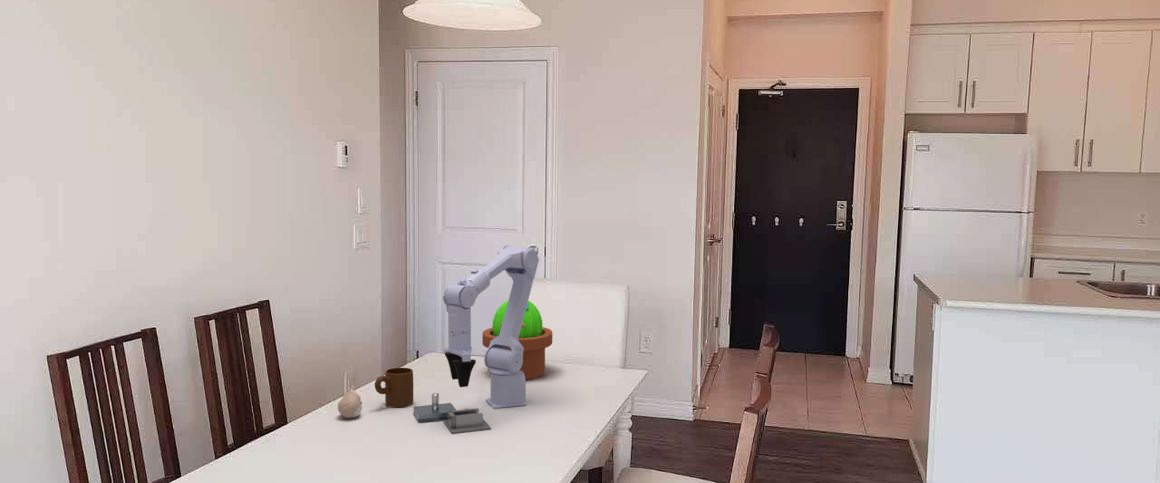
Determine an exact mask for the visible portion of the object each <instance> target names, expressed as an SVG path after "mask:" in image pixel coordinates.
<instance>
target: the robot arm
mask: <svg viewBox="0 0 1160 483" xmlns="http://www.w3.org/2000/svg"><path fill="white" fill-rule="evenodd" d="M539 260H540V259H539V255H538V253H537V251H536V249H535V248H534V247H530V246H528V247H527V246H526V247H524V246H513V245H511V246H510V245H508V244H507V245H504V246H502V247H501V248H500V249H498V251H497V254H496V256H495V257H494V258H493V259H491V261H489V262H488V264H486V265H485V266H483V268H482V269H480V268H477V269H476V268H473V269H471V270H470V273H469V274H468V275H466V276H465V277H463V278H461V279H460V280H459V281H458V282H457V283H455V284H454V283H453V284H449V285H448V286H447V287H446V288H445V290H444V293H443V295H442V300H443V303H444V304H445V308H446V309H445V310H446V312H447V319H448V321H447V322H448V325H447V328H448V334H447V335H448V347H444V348H443V352H444V356H445V358H446V360H447V362H448V366H449V371H450V375H451V379H452V380H454V381H455V380H457V383H458V385H459V388H464V387H465V388H467V387H469V384H470V379H471V374H472V371H473V369H474V367H475V365H476V362H477V361H476V360H475V359H472V357H471V355H472V354H471V353H472V350H473V348H472V341H471V340H472V330H471V329H472V324H471V322H472V317H471V315H472V314H471V311H472V310H471V308H472V307H473V306H474V305H475V303H476V300H477V298H478V297H479V295H480V294H481V293H483V292H484V291H486V289H487V288H489V287H490V286H491V280H492V279H494V278H495V277H496V276H498V275H499V274H500V273H503V272H504V271H505V272H506V274H507V276H509V277H510V278H511V280H512V286H511V290H510V293H509V298H508V299H507V301H508V304H507V308H506V312H505V315H504V319H503V323H502V327H501V330H500V334H499V336H497V337H496V338H494V339H493V340H491V342H490V345H489V348H487V349H486V350H485V353H484V356H483V362H484V365H485V367H486V368H487V369H488V372H489V373H490V372H491V374H490V397H489V398H486V399H485V401H486V402H487V403H488V404H489V405H490V406H491V408H493V409H499V408H500V409H501V408H509V407H518V406H526V405H527V402H526V400H527V399H526V395H527V394H526V392H527V390H526V388H527V387H526V384H527V383H526V381H527V380H525V375H524V373H523V371H519V370H520V369H521V367H522V364H523V351H524V348H523V346H522V345H521V343H520V342H519V341H518V338H519V334H520V330H521V326H522V322H523V318H524V315H525V311H526V307H527V303H528V300H530V299H529V298H530V294H531V291H532V287H533V284H534V279H535V277H536V273H537V270H538V269H537V268H538V265H539V263H540V262H539ZM505 348H510V349H511V350H510V349H505Z"/></svg>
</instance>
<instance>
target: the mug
mask: <svg viewBox="0 0 1160 483" xmlns="http://www.w3.org/2000/svg"><path fill="white" fill-rule="evenodd" d="M382 382H384V387H382V385H381V384H382ZM374 389H375V391H376V392H377V393H378V394H380V395H384V398H385V402H384V403H385V405H386V406H388V407H390V408H398V409H399V408H406V407H409V406H412V404H413V403H414V371H413V368H408V367H393V368H388V369H387V370H385V375H380V376H379V377H377V378H376V380H375V382H374Z"/></svg>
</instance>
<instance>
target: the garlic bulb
mask: <svg viewBox="0 0 1160 483" xmlns="http://www.w3.org/2000/svg"><path fill="white" fill-rule="evenodd" d="M355 389H357V387H356V386H355V385H353V384H351V385H350V390H348V391H347V392H345V394H344V395H343V397H342V398H341V399H340V401H339V402H338V404H337V411H338V412H339V414H340V415H341V416H342V417H343V418H345V419H353V418H356V417H358V416H359V415H360V414H361V412H362V409H363V401H362V400H361V396H360V395H359V394H358V393H357V392H356V391H355Z"/></svg>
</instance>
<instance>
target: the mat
mask: <svg viewBox="0 0 1160 483" xmlns="http://www.w3.org/2000/svg"><path fill="white" fill-rule="evenodd" d="M442 422H443V424H444V425H445V426H446V428H447V429H448V432H450V434H451V435H454V434H462V433H463V434H464V433H471V432H472V433H474V432H479V431H481V432H482V431H489V430H492V427H491V426H490V425H489V423H488V422H487V421H486V420H485V419H484V418H483V426H476V427H467V428H459V429H451V428H450V426H449V425H448V423H447V420H443V421H442Z"/></svg>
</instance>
